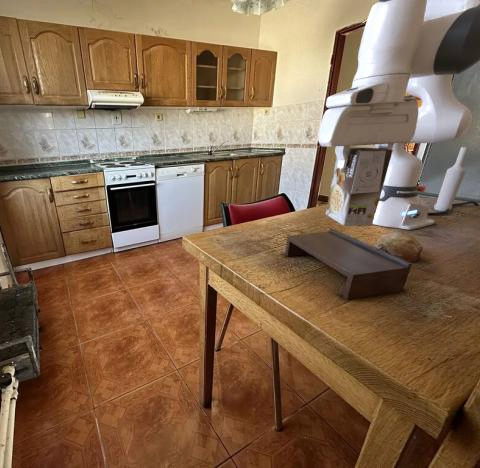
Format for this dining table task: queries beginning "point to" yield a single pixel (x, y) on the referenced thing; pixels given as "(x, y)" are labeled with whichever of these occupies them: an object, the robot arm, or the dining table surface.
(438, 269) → the dining table surface
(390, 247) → the bread roll
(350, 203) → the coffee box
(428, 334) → the dining table surface
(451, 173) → the bottle
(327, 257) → the shelf
